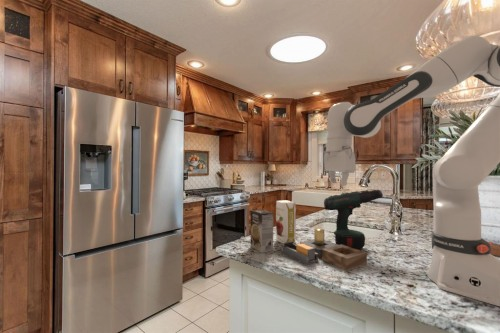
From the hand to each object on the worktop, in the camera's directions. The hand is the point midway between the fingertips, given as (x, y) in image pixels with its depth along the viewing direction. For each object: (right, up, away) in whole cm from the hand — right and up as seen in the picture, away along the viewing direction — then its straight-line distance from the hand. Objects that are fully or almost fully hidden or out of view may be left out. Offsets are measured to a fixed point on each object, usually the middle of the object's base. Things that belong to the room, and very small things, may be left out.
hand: (338, 184), depth 91 cm
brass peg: (-4, -29, +11) cm, 31 cm away
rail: (-14, -29, +4) cm, 32 cm away
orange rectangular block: (-12, -28, +1) cm, 30 cm away
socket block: (-4, -29, +11) cm, 31 cm away
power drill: (+12, -29, +14) cm, 34 cm away
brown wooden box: (+2, -29, -1) cm, 29 cm away
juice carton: (-16, -29, +23) cm, 40 cm away
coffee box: (-28, -29, +14) cm, 43 cm away
